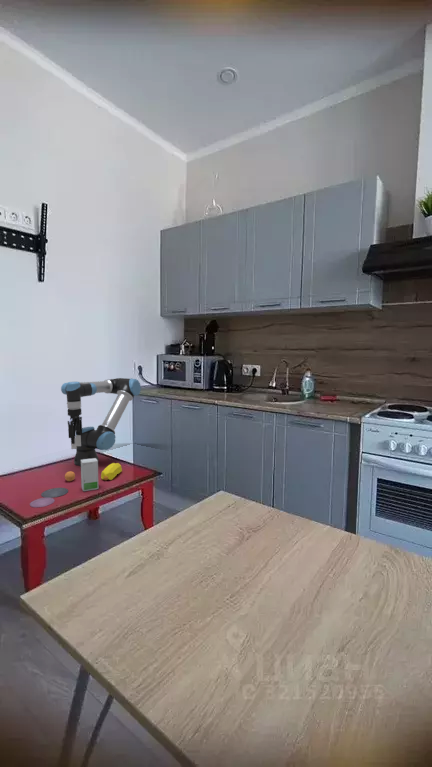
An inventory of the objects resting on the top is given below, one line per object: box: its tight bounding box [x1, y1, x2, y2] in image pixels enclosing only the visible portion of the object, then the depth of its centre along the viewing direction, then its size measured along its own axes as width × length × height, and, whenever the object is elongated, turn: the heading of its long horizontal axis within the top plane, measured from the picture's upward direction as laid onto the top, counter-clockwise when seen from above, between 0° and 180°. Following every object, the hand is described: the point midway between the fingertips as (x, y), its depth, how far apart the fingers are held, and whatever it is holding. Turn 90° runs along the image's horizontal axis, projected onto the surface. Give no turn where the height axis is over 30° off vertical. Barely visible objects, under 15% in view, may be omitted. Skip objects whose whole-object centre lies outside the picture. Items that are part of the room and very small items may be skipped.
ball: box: [64, 470, 76, 482], centre depth 209 cm, size 6×6×6 cm
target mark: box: [40, 487, 69, 499], centre depth 193 cm, size 13×13×1 cm
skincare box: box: [80, 458, 99, 492], centre depth 198 cm, size 8×7×16 cm
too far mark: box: [29, 497, 55, 508], centre depth 181 cm, size 11×11×1 cm
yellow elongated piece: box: [100, 462, 123, 481], centre depth 217 cm, size 18×7×8 cm
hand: (76, 447), depth 217 cm, fingers open, 5 cm apart
